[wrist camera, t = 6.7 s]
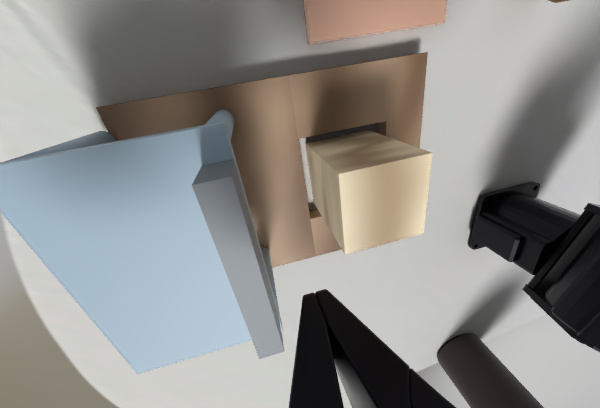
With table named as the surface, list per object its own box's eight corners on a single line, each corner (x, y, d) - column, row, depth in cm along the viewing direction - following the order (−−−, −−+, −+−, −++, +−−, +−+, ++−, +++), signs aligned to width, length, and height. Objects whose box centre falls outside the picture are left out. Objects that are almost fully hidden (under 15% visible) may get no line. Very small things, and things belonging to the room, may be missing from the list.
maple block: (368, 130, 18) (432, 152, 12) (369, 189, 21) (423, 233, 14) (305, 143, 18) (338, 174, 12) (313, 202, 20) (345, 254, 14)
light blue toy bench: (231, 107, 14) (218, 133, 7) (270, 257, 20) (288, 366, 12) (88, 133, 13) (-119, 197, 6) (170, 282, 19) (120, 419, 11)
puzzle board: (415, 54, 17) (427, 52, 16) (404, 224, 23) (412, 230, 22) (106, 105, 14) (96, 107, 13) (191, 279, 21) (188, 289, 20)
